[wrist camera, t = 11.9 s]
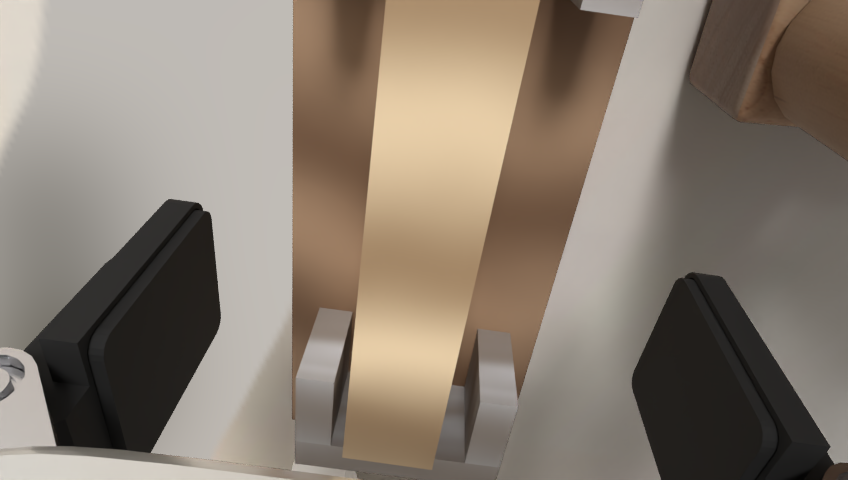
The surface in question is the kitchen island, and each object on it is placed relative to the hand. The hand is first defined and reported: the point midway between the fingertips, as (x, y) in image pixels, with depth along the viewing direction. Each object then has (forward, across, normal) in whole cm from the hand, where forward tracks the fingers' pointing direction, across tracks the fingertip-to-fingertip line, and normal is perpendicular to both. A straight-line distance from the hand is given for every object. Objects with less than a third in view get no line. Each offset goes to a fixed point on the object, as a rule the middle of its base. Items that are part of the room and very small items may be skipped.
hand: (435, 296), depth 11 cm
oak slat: (+7, 0, +1) cm, 7 cm away
